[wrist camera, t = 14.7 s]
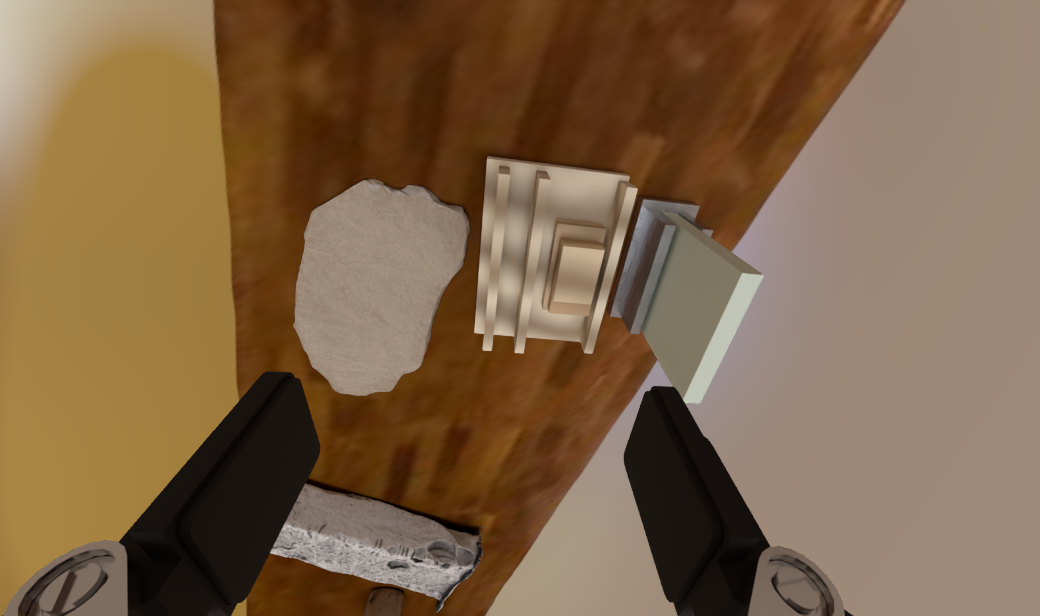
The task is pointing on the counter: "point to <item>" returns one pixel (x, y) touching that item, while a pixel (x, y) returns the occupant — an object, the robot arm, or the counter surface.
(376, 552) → the concrete block
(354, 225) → the stone tablet
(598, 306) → the rack
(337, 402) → the counter surface
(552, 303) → the offcut stack
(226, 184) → the counter surface
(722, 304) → the grey-green panel
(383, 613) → the block
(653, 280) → the stand
